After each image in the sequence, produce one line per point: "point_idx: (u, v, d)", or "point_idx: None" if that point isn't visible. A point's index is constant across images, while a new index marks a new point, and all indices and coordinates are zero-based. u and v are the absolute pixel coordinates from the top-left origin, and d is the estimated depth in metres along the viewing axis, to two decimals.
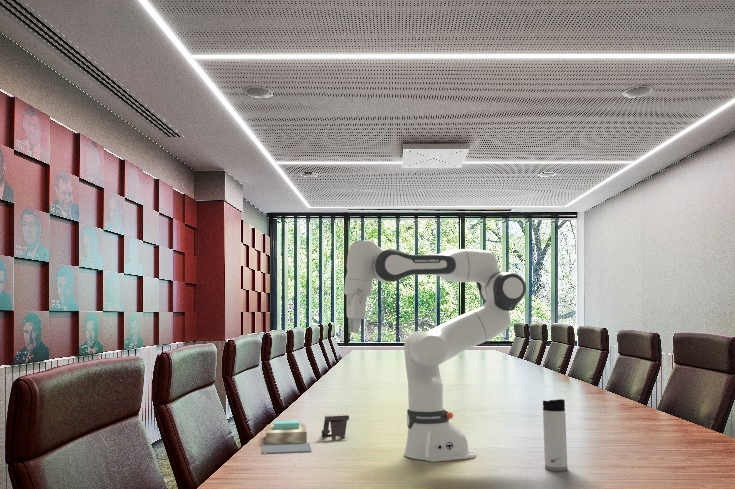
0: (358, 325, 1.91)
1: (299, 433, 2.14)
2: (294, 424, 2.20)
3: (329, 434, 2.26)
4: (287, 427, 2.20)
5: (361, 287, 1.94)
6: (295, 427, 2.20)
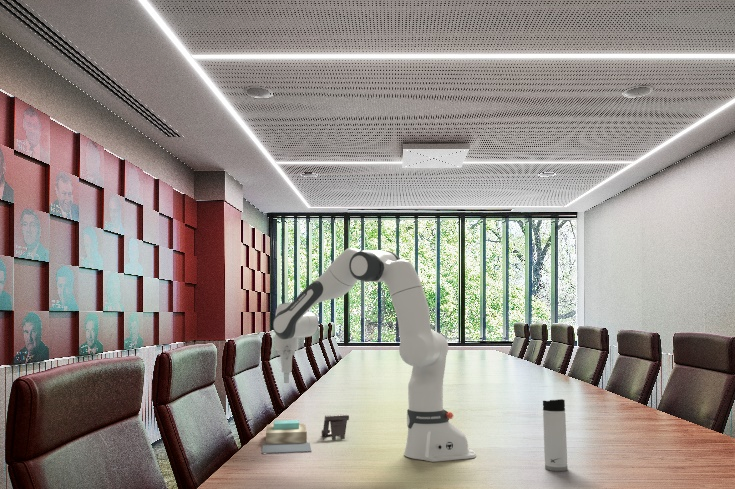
0: (287, 376, 2.31)
1: (299, 433, 2.14)
2: (294, 424, 2.20)
3: (329, 434, 2.26)
4: (287, 427, 2.20)
5: (288, 344, 2.30)
6: (295, 427, 2.20)
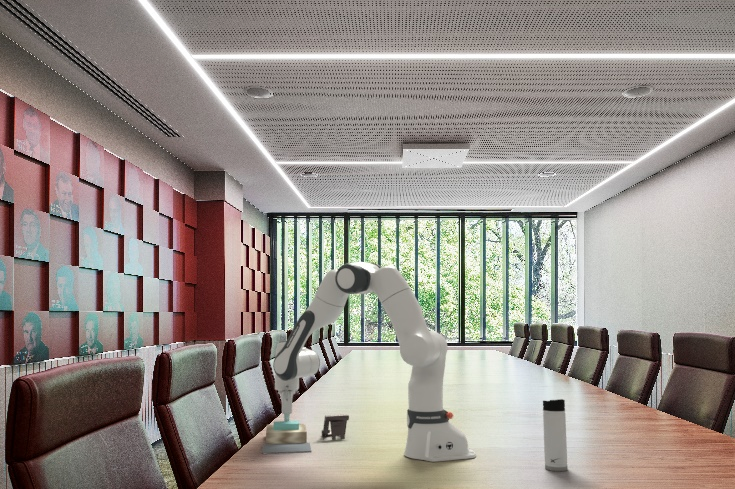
0: (288, 416, 2.24)
1: (299, 433, 2.14)
2: (294, 425, 2.19)
3: (329, 434, 2.26)
4: (287, 428, 2.19)
5: (288, 384, 2.23)
6: (295, 428, 2.19)
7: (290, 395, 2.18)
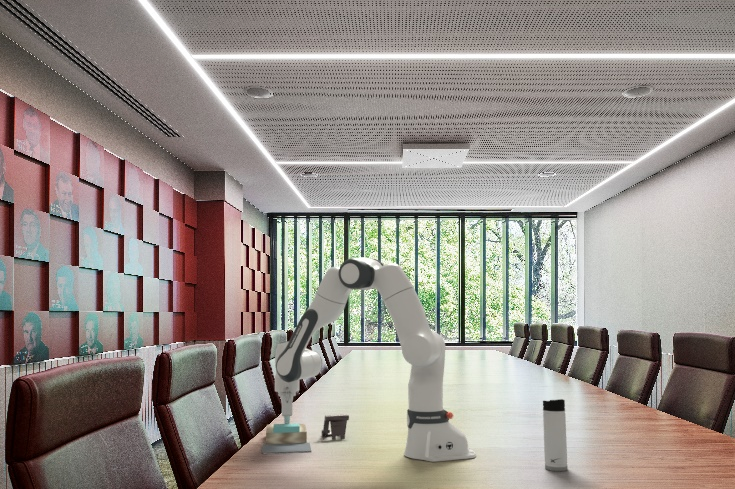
0: (288, 419, 2.19)
1: (299, 433, 2.14)
2: (294, 427, 2.14)
3: (329, 434, 2.26)
4: (287, 430, 2.13)
5: (288, 385, 2.18)
6: (295, 430, 2.14)
7: (290, 397, 2.13)
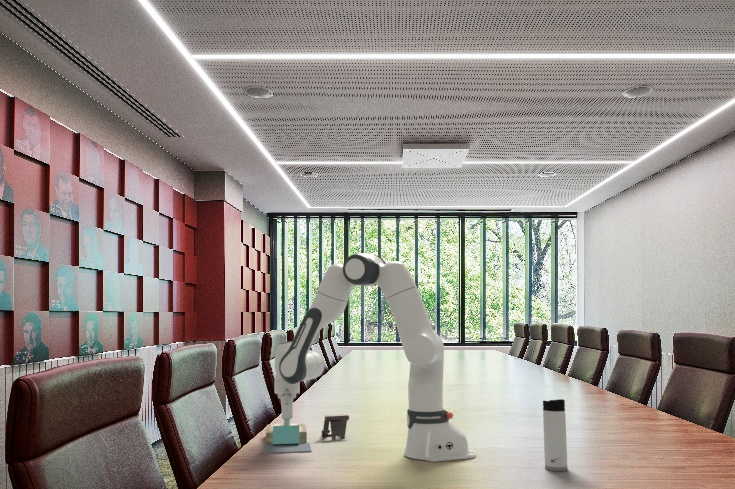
0: (288, 421, 2.13)
1: (299, 433, 2.14)
2: (294, 443, 2.10)
3: (329, 434, 2.26)
4: (287, 444, 2.11)
5: (288, 387, 2.12)
6: None
7: (290, 399, 2.07)
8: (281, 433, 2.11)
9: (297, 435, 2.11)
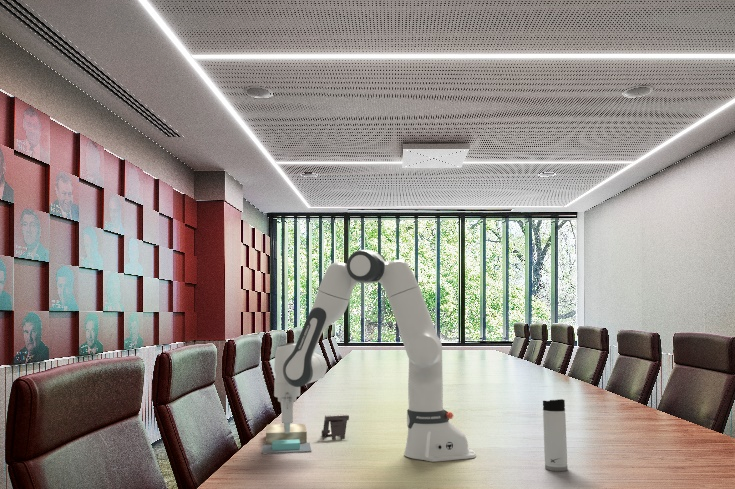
0: (288, 426, 2.07)
1: (299, 433, 2.14)
2: None
3: (329, 434, 2.26)
4: None
5: (289, 390, 2.06)
6: None
7: (291, 403, 2.01)
8: None
9: None
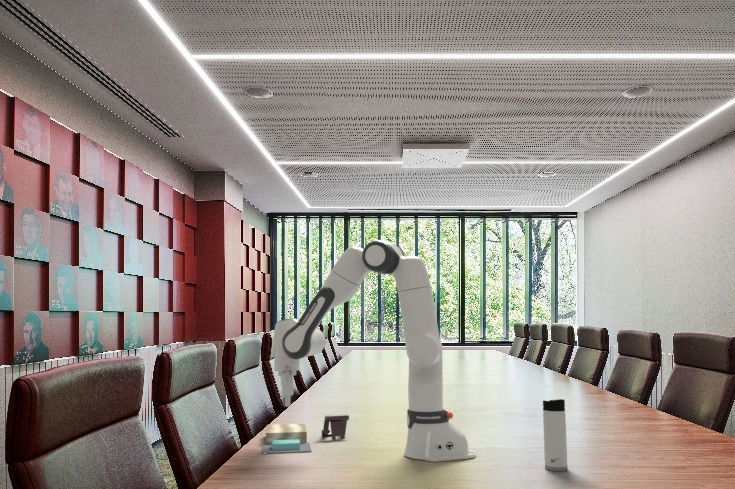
0: (289, 399, 2.11)
1: (299, 433, 2.14)
2: None
3: (329, 434, 2.26)
4: None
5: (288, 364, 2.10)
6: None
7: (291, 376, 2.05)
8: None
9: None
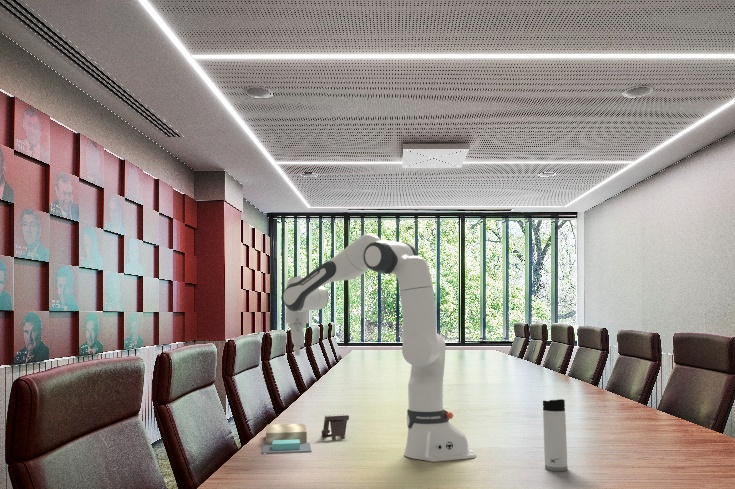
0: (298, 349, 2.33)
1: (299, 433, 2.14)
2: None
3: (329, 434, 2.26)
4: None
5: (299, 317, 2.32)
6: None
7: (301, 326, 2.27)
8: None
9: None
